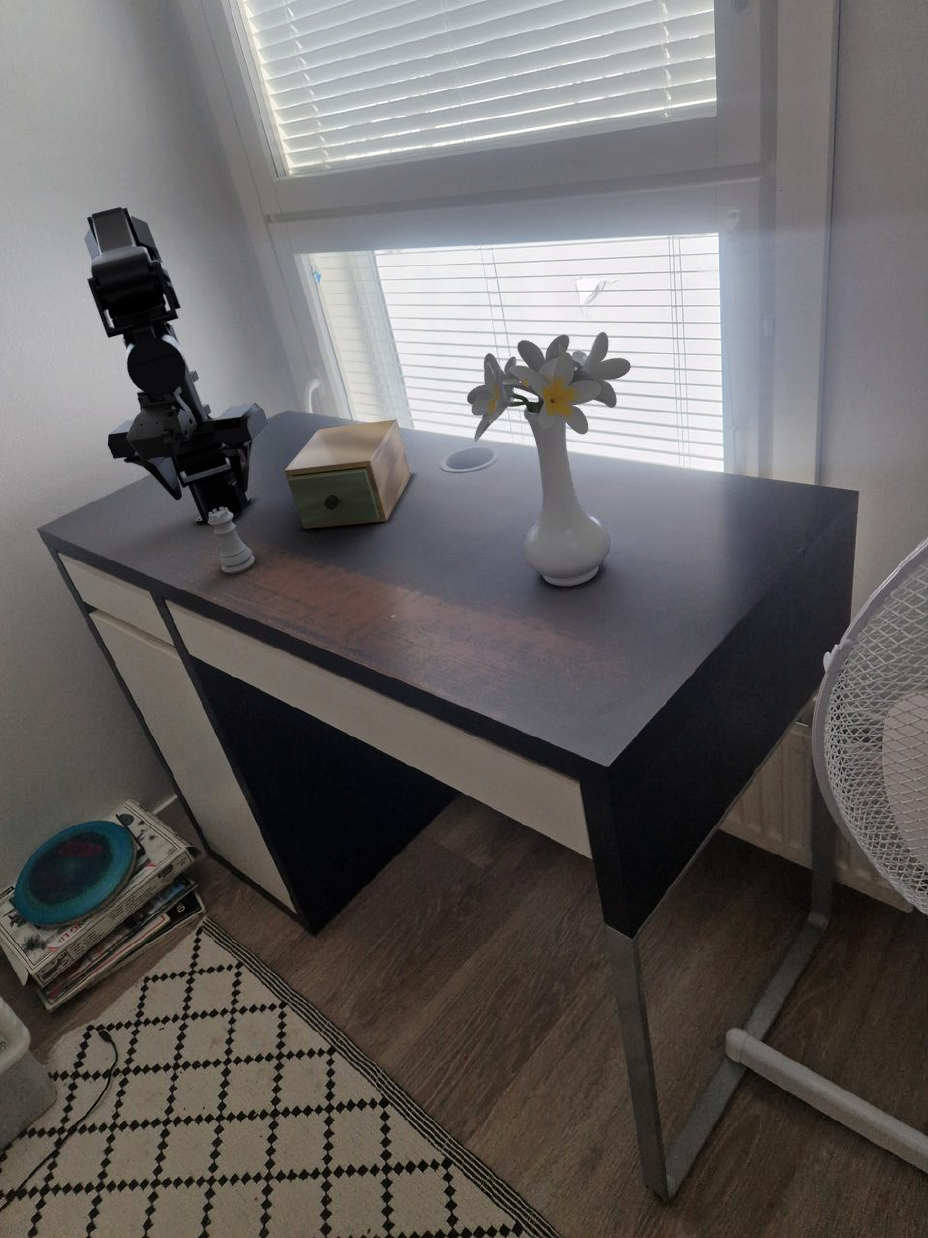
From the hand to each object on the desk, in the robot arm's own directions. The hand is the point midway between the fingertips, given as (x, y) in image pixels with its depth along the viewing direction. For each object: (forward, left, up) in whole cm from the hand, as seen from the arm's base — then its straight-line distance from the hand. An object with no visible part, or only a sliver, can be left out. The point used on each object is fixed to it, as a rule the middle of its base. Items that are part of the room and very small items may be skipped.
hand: (211, 495), depth 106 cm
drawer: (+12, +14, -9) cm, 20 cm away
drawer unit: (+12, +16, -10) cm, 22 cm away
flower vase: (+44, -7, -10) cm, 46 cm away
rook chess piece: (0, 0, -10) cm, 10 cm away
